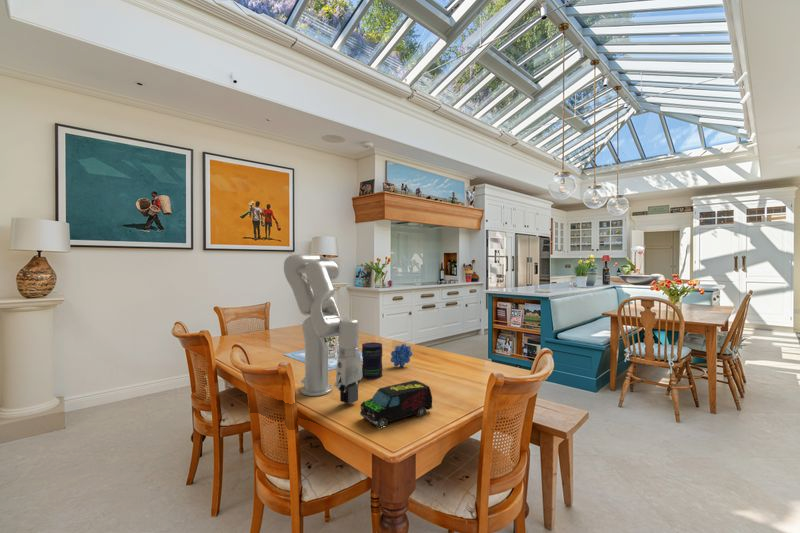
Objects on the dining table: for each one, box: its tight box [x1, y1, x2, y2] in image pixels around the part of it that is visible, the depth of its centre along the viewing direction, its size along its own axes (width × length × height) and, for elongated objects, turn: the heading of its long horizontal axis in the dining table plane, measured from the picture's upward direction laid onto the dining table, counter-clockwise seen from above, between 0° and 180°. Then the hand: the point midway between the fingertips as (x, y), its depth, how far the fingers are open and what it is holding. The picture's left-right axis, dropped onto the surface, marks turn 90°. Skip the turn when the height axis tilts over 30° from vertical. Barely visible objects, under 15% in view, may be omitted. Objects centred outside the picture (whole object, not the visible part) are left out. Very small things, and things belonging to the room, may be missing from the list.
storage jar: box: [361, 341, 384, 380], centre depth 170 cm, size 10×10×15 cm
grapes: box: [390, 343, 413, 367], centre depth 186 cm, size 12×7×12 cm, turn 100°
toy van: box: [359, 380, 434, 429], centre depth 125 cm, size 11×25×10 cm, turn 124°
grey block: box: [339, 383, 359, 405], centre depth 135 cm, size 5×4×6 cm
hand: (349, 399), depth 135 cm, fingers closed on grey block, 4 cm apart
